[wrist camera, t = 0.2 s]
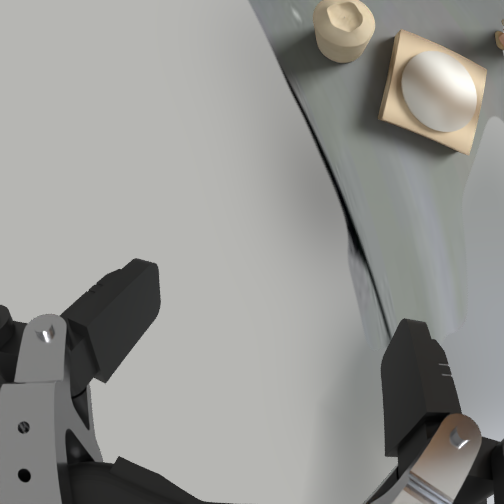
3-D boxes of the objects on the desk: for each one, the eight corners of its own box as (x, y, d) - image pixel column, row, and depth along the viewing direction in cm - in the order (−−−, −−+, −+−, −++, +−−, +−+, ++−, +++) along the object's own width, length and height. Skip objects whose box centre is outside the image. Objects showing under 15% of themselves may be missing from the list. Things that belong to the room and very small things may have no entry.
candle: (308, 48, 28) (300, 23, 19) (329, 14, 26) (329, -20, 17) (350, 72, 28) (360, 54, 19) (372, 37, 26) (387, 9, 17)
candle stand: (395, 36, 25) (402, 27, 21) (475, 72, 23) (490, 69, 20) (377, 119, 30) (383, 119, 26) (458, 151, 28) (471, 156, 25)
